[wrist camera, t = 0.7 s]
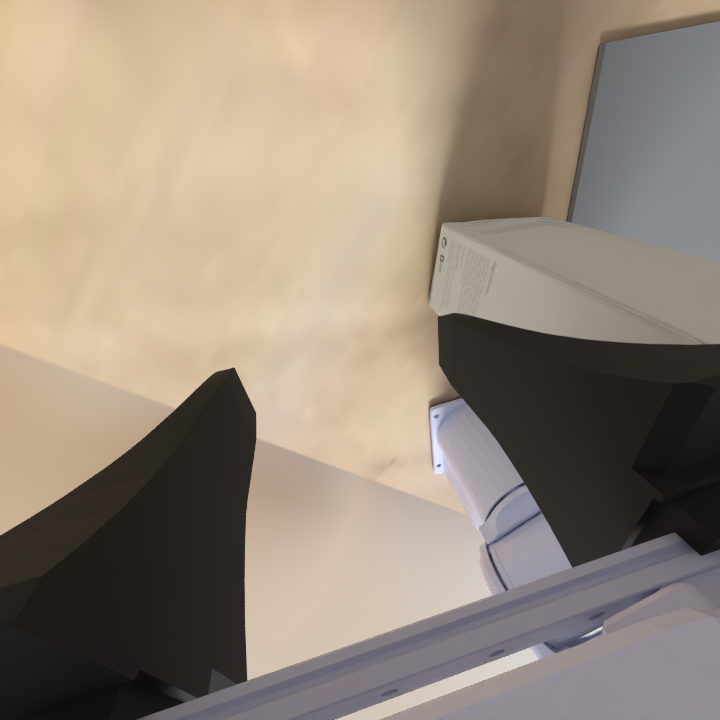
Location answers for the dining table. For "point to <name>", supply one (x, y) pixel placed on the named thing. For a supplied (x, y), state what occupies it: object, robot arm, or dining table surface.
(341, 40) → the dining table surface
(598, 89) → the mat
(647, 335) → the skincare box
